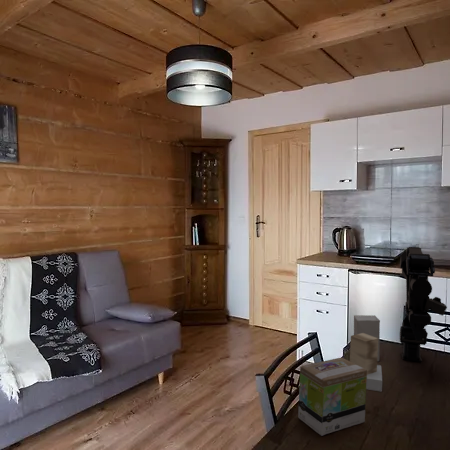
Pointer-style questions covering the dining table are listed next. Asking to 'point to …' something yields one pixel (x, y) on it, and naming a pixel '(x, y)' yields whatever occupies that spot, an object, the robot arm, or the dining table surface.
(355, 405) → the tea box
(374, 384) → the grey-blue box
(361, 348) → the birch block
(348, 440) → the dining table surface
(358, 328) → the skincare box
